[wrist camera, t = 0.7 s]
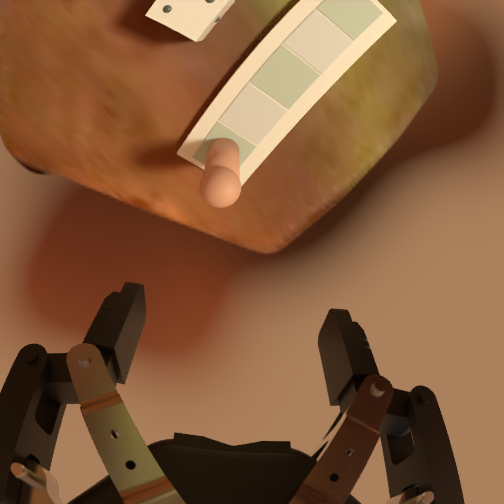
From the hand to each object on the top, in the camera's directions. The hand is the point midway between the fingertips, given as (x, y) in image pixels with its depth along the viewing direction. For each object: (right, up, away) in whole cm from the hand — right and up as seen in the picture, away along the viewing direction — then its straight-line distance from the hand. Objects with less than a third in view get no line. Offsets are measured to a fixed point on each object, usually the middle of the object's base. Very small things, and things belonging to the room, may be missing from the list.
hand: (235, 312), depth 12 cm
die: (-4, +25, +7) cm, 26 cm away
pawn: (-2, +13, +17) cm, 21 cm away
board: (+4, +20, +13) cm, 24 cm away
